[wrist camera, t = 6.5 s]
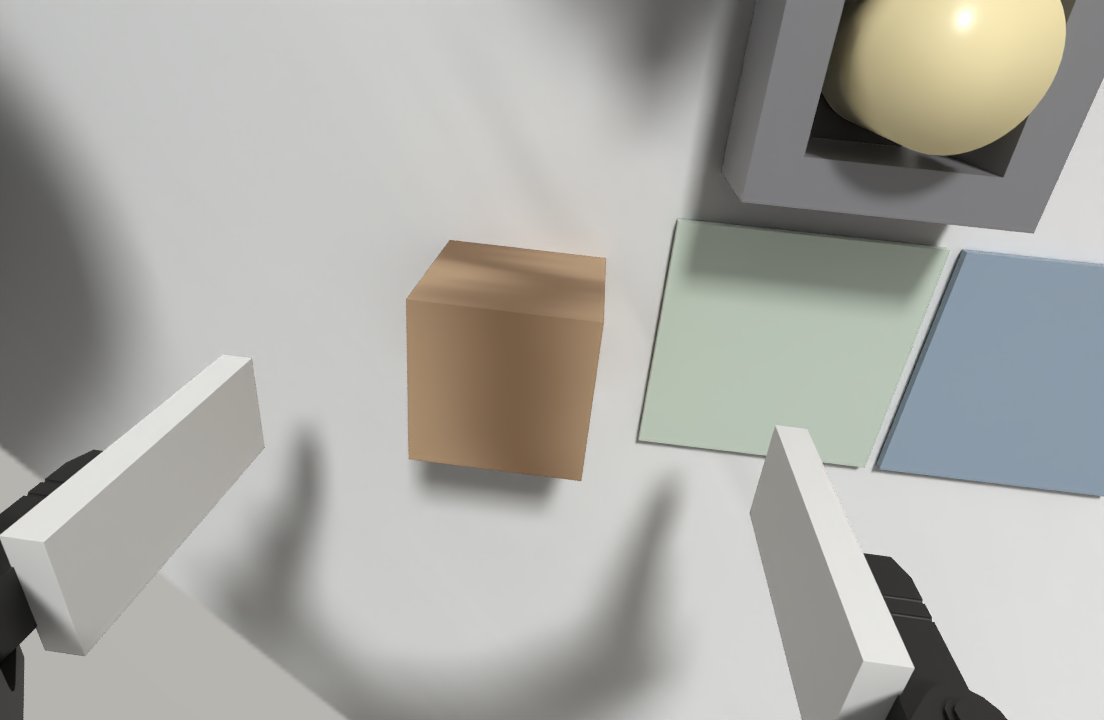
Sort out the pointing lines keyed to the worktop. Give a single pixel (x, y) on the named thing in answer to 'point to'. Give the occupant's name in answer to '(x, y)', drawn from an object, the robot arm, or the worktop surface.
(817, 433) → the tile
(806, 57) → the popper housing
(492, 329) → the tan wooden cuboid
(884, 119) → the button
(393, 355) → the worktop surface
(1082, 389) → the tile
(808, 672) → the robot arm
